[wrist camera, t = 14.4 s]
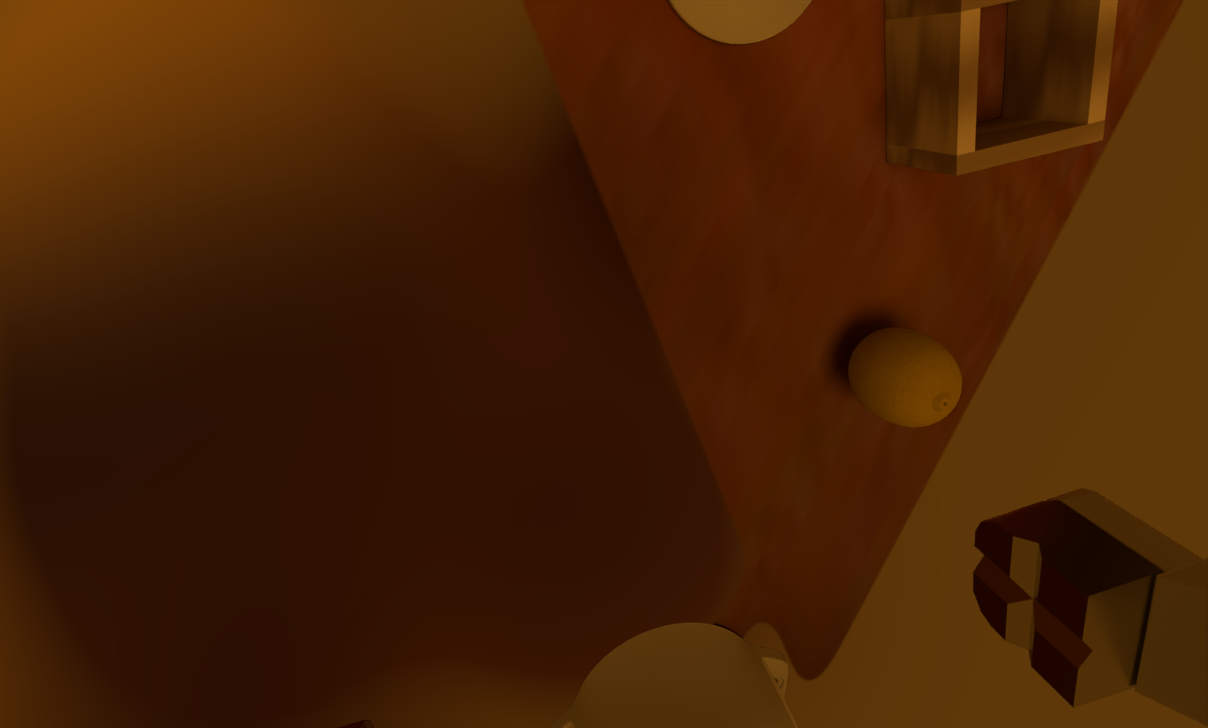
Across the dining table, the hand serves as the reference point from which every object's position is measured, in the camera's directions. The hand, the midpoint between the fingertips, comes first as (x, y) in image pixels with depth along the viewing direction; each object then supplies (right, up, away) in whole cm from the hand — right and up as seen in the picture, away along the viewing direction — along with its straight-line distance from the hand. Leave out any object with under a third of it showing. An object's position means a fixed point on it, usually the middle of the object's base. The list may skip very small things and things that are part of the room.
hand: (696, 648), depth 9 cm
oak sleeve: (+19, +20, +31) cm, 41 cm away
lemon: (+16, +5, +37) cm, 40 cm away
